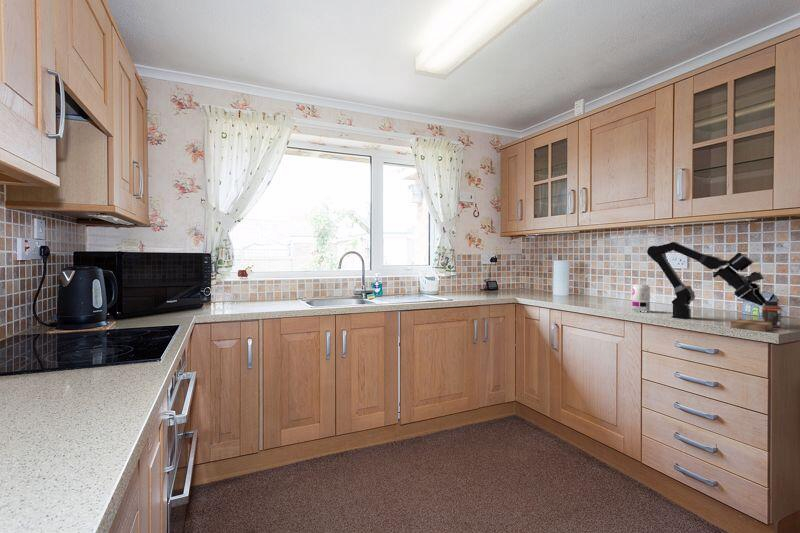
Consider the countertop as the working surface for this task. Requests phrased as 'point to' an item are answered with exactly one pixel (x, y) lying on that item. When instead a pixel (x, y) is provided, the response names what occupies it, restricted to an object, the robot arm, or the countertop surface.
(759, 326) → the trivet
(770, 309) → the supplement bottle
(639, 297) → the supplement can
